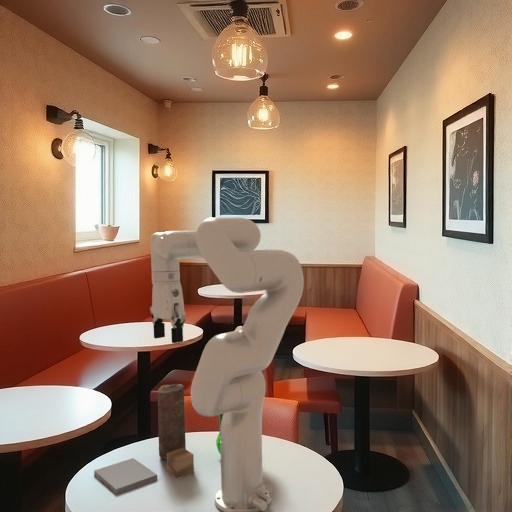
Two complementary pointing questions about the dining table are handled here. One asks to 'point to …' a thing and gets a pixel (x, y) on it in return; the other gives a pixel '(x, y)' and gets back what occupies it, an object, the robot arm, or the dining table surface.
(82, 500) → the dining table surface
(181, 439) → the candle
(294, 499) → the dining table surface
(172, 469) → the walnut block
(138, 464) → the slate board
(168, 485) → the dining table surface
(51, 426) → the dining table surface
